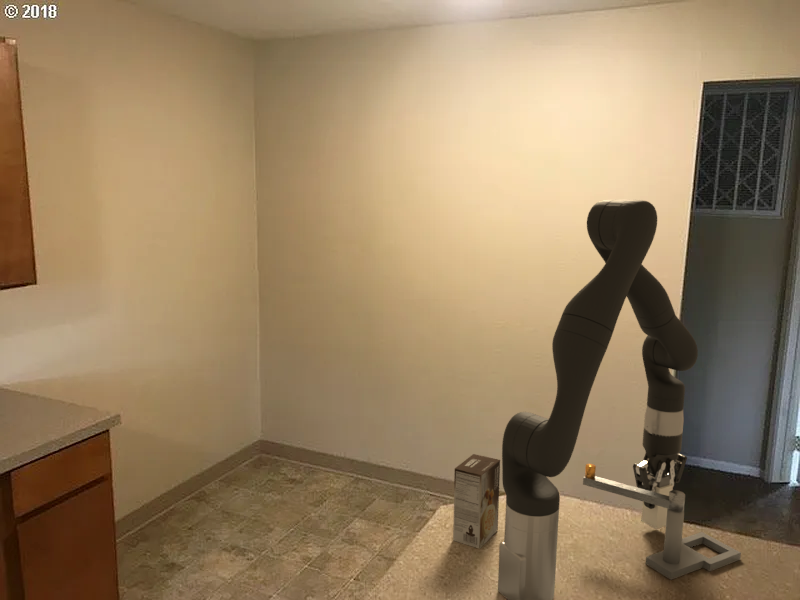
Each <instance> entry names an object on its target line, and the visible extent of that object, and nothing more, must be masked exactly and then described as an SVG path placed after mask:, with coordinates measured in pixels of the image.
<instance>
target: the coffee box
mask: <svg viewBox="0 0 800 600" xmlns="http://www.w3.org/2000/svg"><path fill="white" fill-rule="evenodd" d="M500 468H501V459H499V458H493V457H489V456H485V455H481V454H475V453H473V454H472V455H470V456H469V457H468V458H466V459H465V460H463V462H461V463H459V464H458V465H457V466H456V467H455V468H454V475H453V477H454V479H453V481H454V484H453V485H454V486H453V490H454V492H453V532H452V533H453V535H452V537H453V538H452V540H453V541H454V542H457V543H460V544H464V545H467V546H470V547H473V548H477V549H479V550H480V549H481V548H482V547H483V546H484V545H485V544H486V543H487V542H488V541H489V540H490V539H491V538H492V537H493V535H494V534H495V533H496V532H497V531H498V529H499V507H500V506H499V504H500V502H499V500H500V479H501V478H500V475H501V474H500V472H501V469H500Z"/></svg>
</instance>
